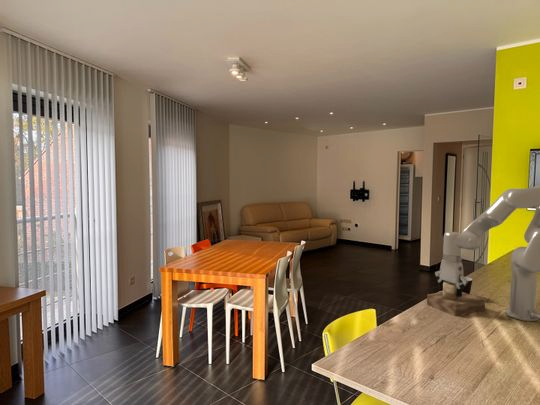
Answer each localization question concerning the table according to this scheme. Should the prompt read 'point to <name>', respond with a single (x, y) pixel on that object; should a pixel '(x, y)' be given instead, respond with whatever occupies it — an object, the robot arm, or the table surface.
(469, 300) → the board
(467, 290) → the coffee mug
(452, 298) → the peg
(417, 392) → the table surface
